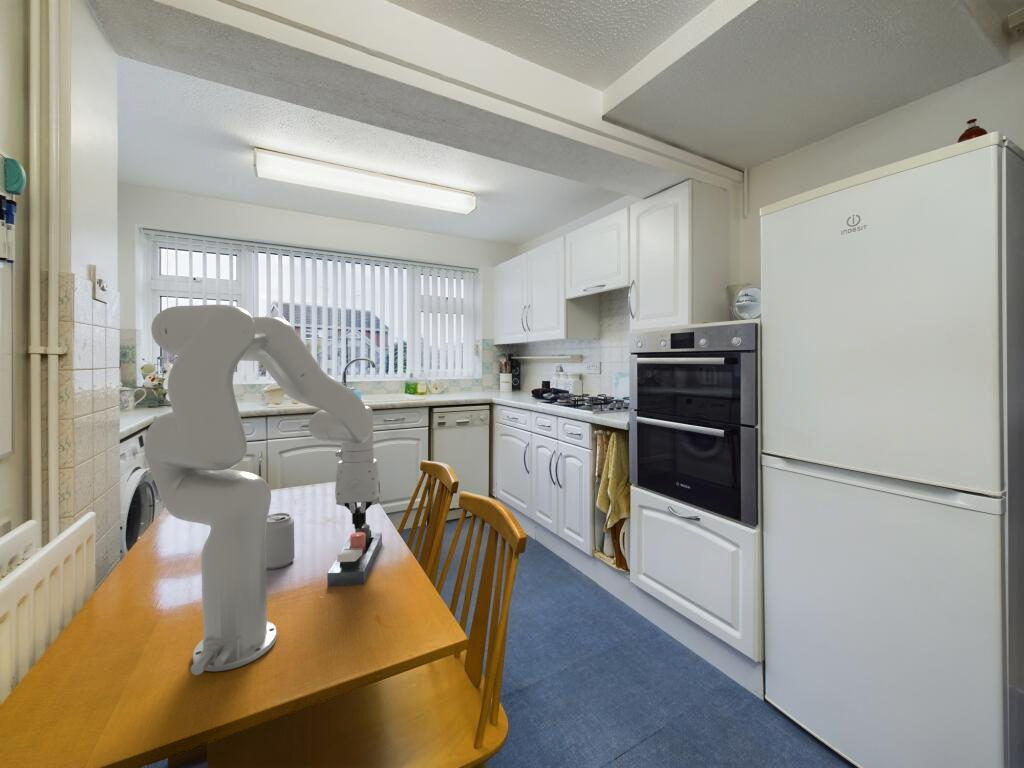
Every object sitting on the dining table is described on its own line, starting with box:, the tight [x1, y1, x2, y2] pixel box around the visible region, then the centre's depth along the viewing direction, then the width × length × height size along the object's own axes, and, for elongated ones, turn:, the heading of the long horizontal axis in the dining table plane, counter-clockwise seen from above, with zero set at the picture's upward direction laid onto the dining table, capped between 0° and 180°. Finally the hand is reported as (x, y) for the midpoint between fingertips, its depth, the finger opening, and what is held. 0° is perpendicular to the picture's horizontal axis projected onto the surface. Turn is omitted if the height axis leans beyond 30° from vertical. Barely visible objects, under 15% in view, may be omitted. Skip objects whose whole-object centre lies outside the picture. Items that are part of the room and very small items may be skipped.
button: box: [349, 532, 367, 554], centre depth 110 cm, size 4×4×4 cm
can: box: [266, 512, 295, 570], centre depth 108 cm, size 8×8×12 cm
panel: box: [326, 529, 383, 587], centre depth 109 cm, size 22×8×4 cm, turn 6°
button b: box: [354, 523, 371, 546], centre depth 115 cm, size 4×4×4 cm
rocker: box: [336, 548, 363, 562], centre depth 102 cm, size 7×4×2 cm, turn 7°
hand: (359, 526), depth 110 cm, fingers closed
